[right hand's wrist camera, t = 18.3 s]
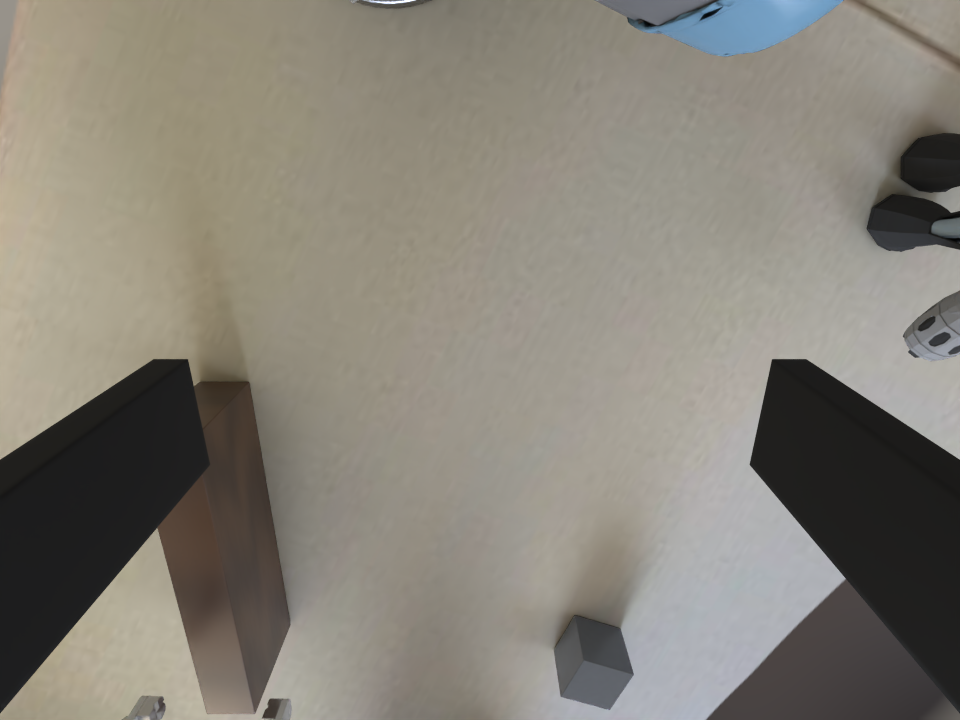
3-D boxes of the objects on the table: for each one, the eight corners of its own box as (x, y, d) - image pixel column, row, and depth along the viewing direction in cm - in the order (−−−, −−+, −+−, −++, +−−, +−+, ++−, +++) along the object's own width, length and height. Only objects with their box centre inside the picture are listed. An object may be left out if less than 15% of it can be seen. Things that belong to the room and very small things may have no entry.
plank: (199, 381, 44) (132, 437, 35) (249, 381, 44) (194, 437, 35) (249, 624, 53) (206, 714, 45) (290, 624, 53) (255, 714, 45)
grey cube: (574, 614, 53) (583, 660, 48) (620, 628, 53) (634, 674, 49) (553, 649, 54) (560, 697, 50) (598, 662, 55) (609, 710, 50)
